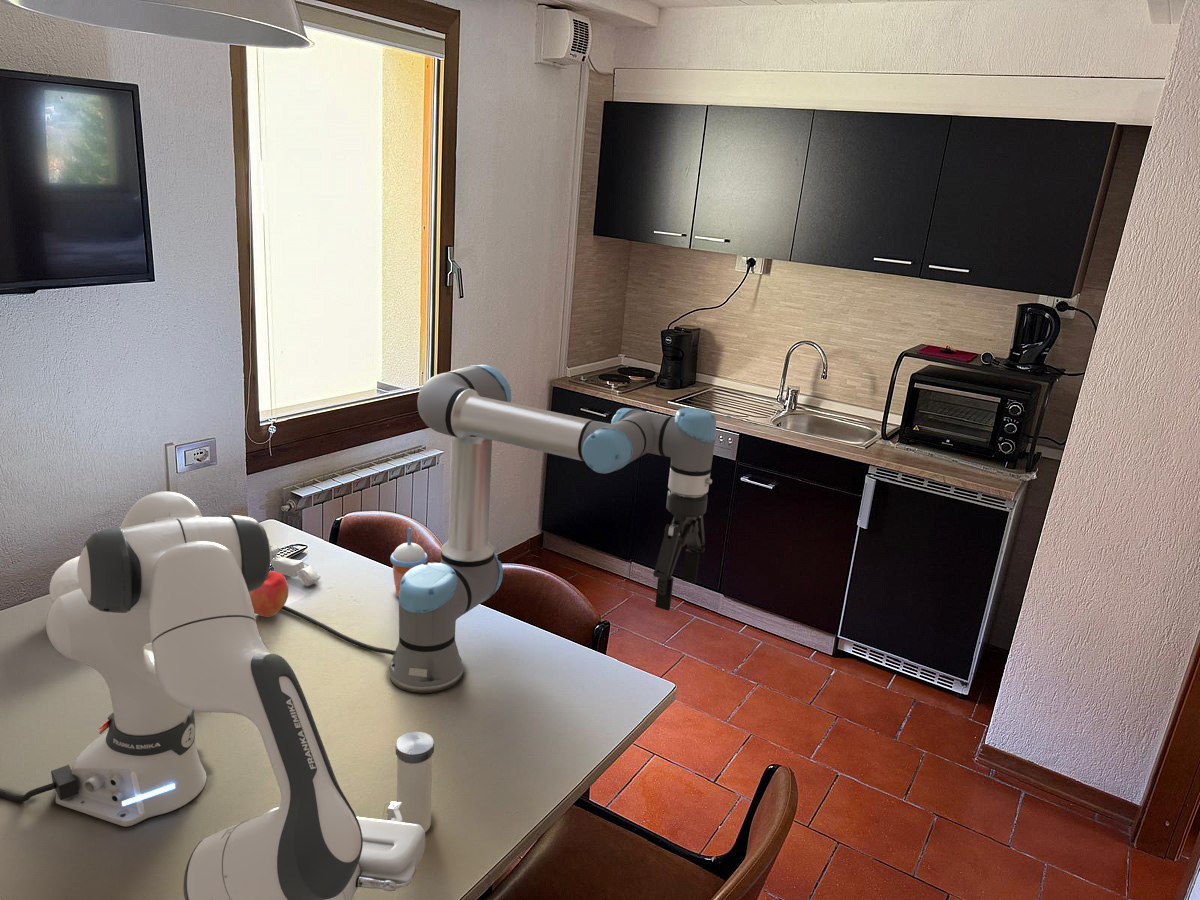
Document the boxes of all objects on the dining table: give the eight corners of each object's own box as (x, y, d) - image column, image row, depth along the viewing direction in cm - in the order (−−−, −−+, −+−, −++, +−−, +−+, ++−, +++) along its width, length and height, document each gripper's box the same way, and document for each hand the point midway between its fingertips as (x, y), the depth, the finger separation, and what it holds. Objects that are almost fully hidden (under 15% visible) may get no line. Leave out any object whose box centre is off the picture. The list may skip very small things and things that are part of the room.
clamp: (253, 565, 223) (254, 542, 221) (265, 560, 226) (266, 537, 224) (309, 593, 215) (310, 569, 213) (320, 588, 218) (321, 564, 216)
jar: (397, 813, 142) (397, 735, 138) (430, 811, 143) (432, 733, 139) (396, 837, 137) (396, 757, 133) (431, 835, 138) (432, 755, 134)
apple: (273, 600, 207) (272, 562, 204) (297, 613, 202) (296, 575, 199) (237, 614, 200) (234, 575, 197) (261, 628, 194) (259, 588, 191)
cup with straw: (418, 605, 211) (419, 537, 205) (383, 599, 212) (384, 532, 207) (432, 589, 219) (433, 524, 214) (399, 583, 221) (399, 519, 215)
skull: (117, 646, 183) (112, 578, 178) (37, 625, 188) (30, 558, 184) (164, 620, 195) (161, 556, 191) (88, 601, 201) (83, 538, 196)
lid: (396, 741, 138) (396, 732, 138) (433, 738, 139) (433, 730, 139) (395, 764, 133) (395, 755, 132) (434, 762, 134) (434, 753, 133)
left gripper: (407, 868, 97) (440, 790, 110) (233, 846, 98) (287, 771, 112) (406, 914, 98) (439, 831, 112) (235, 891, 100) (288, 812, 113)
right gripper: (681, 516, 147) (669, 626, 153) (728, 478, 168) (716, 576, 174) (642, 506, 150) (631, 614, 156) (693, 470, 171) (682, 566, 178)
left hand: (362, 801), depth 112 cm, fingers open, 8 cm apart
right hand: (676, 594), depth 165 cm, fingers open, 13 cm apart
